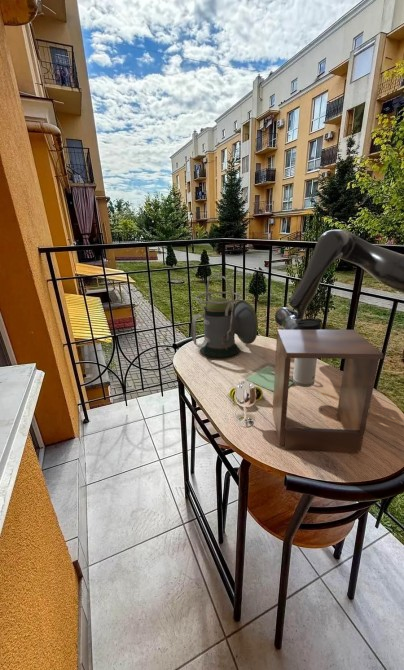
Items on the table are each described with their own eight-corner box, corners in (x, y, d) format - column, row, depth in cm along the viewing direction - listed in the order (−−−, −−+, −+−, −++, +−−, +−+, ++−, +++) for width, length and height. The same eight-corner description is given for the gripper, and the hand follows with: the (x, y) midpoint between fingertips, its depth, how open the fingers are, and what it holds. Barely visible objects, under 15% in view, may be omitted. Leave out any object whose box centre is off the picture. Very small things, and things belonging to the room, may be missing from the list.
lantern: (265, 354, 122) (268, 273, 110) (204, 368, 112) (201, 280, 100) (236, 336, 143) (237, 267, 131) (183, 347, 133) (178, 272, 121)
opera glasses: (256, 395, 94) (255, 381, 93) (263, 401, 89) (262, 386, 88) (229, 401, 91) (227, 386, 90) (235, 407, 86) (233, 391, 85)
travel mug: (319, 386, 84) (326, 322, 76) (297, 388, 83) (303, 324, 76) (309, 376, 89) (316, 316, 82) (289, 377, 89) (294, 317, 82)
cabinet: (272, 412, 83) (277, 329, 74) (341, 414, 81) (354, 329, 72) (279, 449, 69) (286, 352, 60) (363, 454, 67) (383, 354, 58)
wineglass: (241, 431, 76) (242, 393, 72) (231, 419, 81) (231, 382, 77) (259, 424, 78) (260, 387, 74) (248, 413, 83) (248, 378, 79)
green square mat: (267, 366, 111) (267, 365, 111) (300, 378, 101) (300, 377, 101) (245, 379, 102) (245, 378, 102) (278, 394, 92) (278, 393, 92)
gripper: (275, 322, 95) (283, 340, 80) (319, 321, 93) (336, 340, 78) (274, 342, 98) (281, 363, 82) (317, 342, 96) (333, 364, 81)
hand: (308, 352), depth 80 cm, fingers closed on travel mug, 6 cm apart
